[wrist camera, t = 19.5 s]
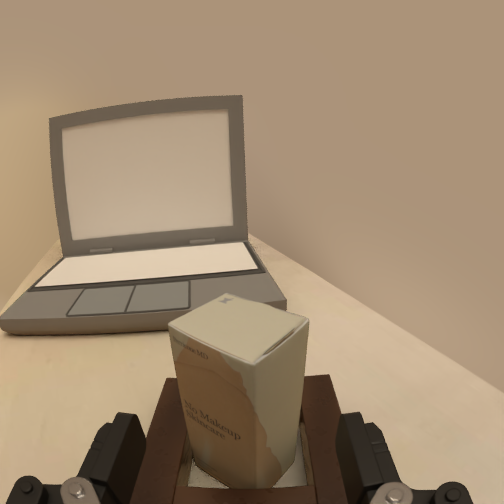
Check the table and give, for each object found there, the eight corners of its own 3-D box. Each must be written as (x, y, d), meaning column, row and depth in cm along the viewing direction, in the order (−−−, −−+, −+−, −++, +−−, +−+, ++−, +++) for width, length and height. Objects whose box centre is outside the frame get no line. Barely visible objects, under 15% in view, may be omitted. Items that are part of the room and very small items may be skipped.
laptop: (4, 338, 30) (-34, 102, 22) (67, 267, 55) (51, 118, 47) (286, 320, 36) (280, 51, 27) (247, 252, 61) (241, 96, 52)
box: (193, 464, 17) (159, 319, 14) (236, 429, 21) (223, 288, 17) (259, 505, 14) (253, 362, 11) (300, 461, 17) (312, 313, 14)
